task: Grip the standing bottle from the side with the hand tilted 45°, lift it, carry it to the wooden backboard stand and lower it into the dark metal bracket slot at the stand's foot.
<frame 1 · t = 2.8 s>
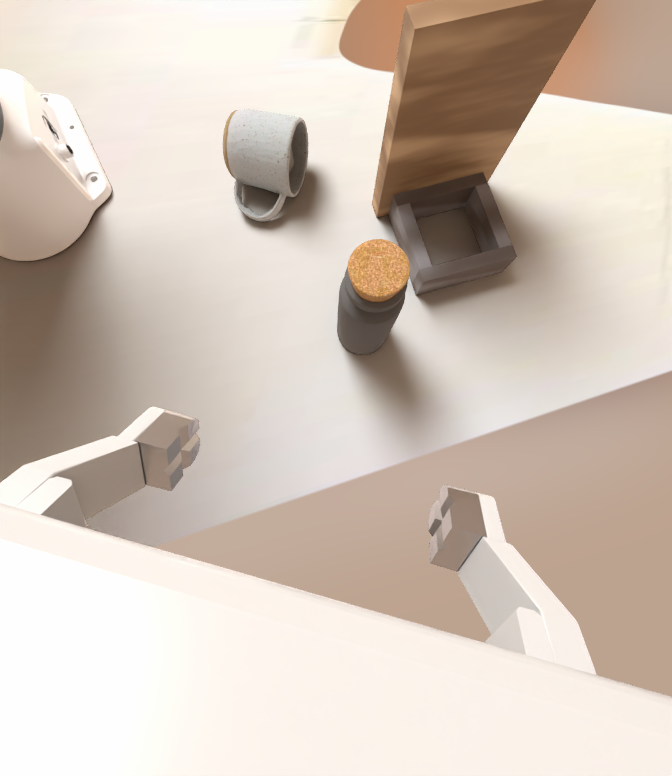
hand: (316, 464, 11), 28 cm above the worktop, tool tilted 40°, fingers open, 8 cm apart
wooden backboard stand: (444, 242, 43), on the worktop
bottle: (361, 331, 41), on the worktop
ceramic mug: (271, 187, 44), on the worktop
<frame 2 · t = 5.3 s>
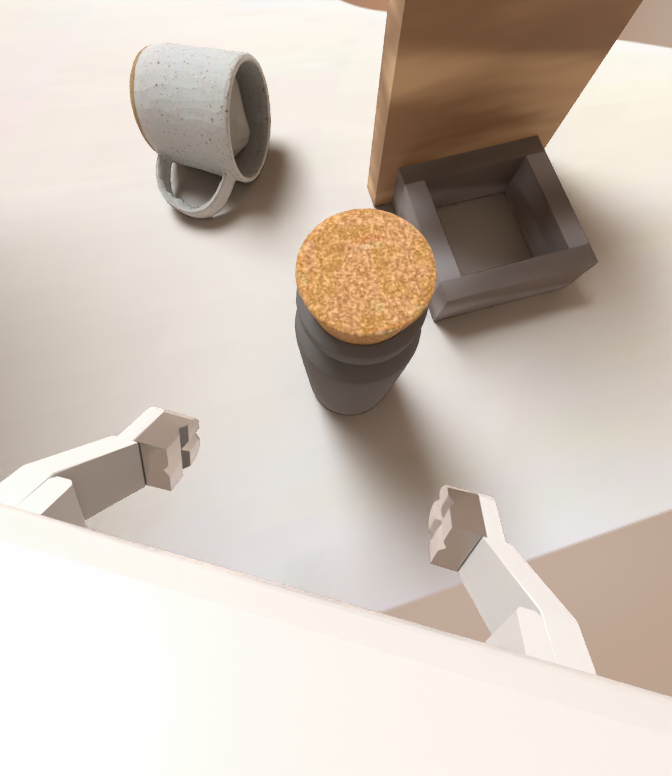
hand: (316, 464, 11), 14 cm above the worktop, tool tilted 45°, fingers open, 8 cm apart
wooden backboard stand: (476, 243, 29), on the worktop
bottle: (349, 377, 26), on the worktop
ceramic mug: (218, 171, 30), on the worktop
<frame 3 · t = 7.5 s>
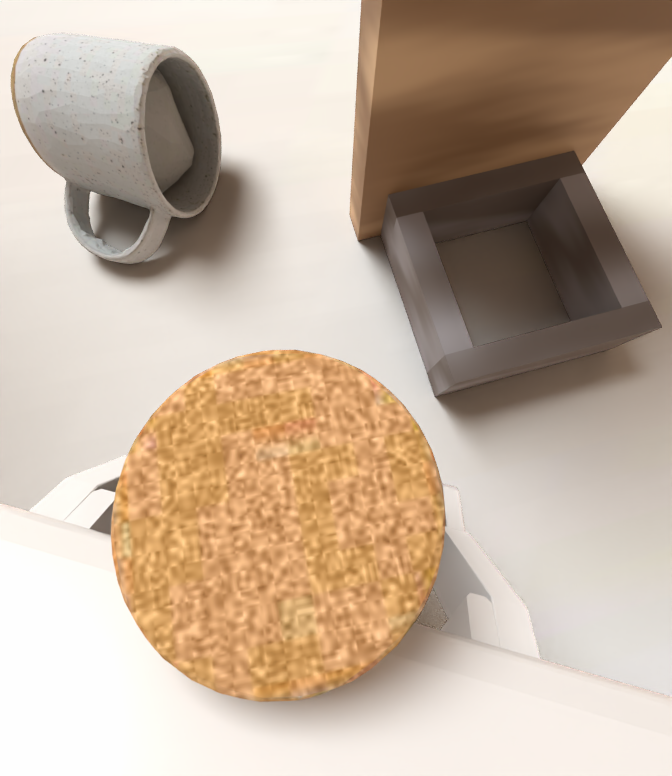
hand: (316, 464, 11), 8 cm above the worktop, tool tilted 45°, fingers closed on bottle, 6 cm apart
wooden backboard stand: (490, 290, 22), on the worktop
bottle: (321, 474, 20), on the worktop, touching gripper
ceramic mug: (156, 200, 24), on the worktop
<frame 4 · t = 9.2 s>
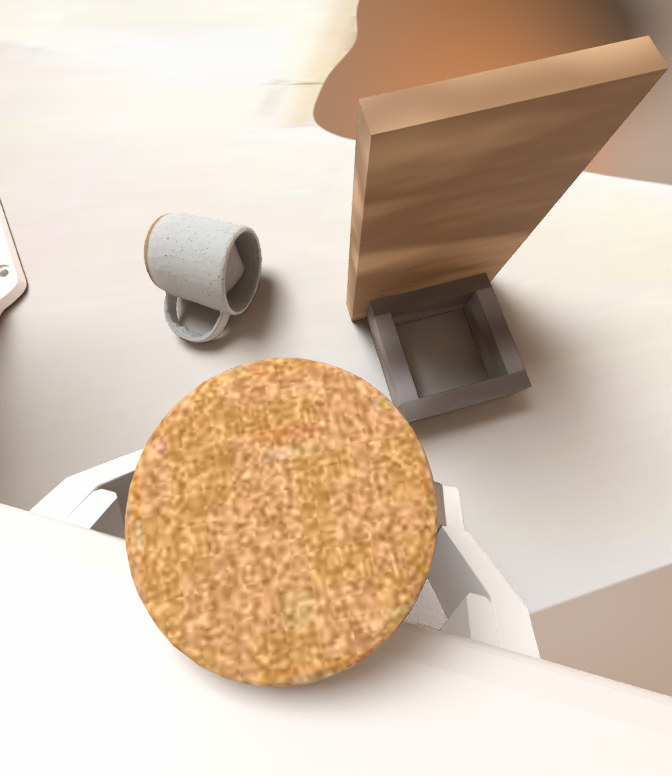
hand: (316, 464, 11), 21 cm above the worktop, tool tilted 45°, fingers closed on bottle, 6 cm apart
wooden backboard stand: (437, 355, 34), on the worktop
bottle: (322, 474, 20), point 12 cm above the worktop, touching gripper
ceramic mug: (217, 296, 36), on the worktop
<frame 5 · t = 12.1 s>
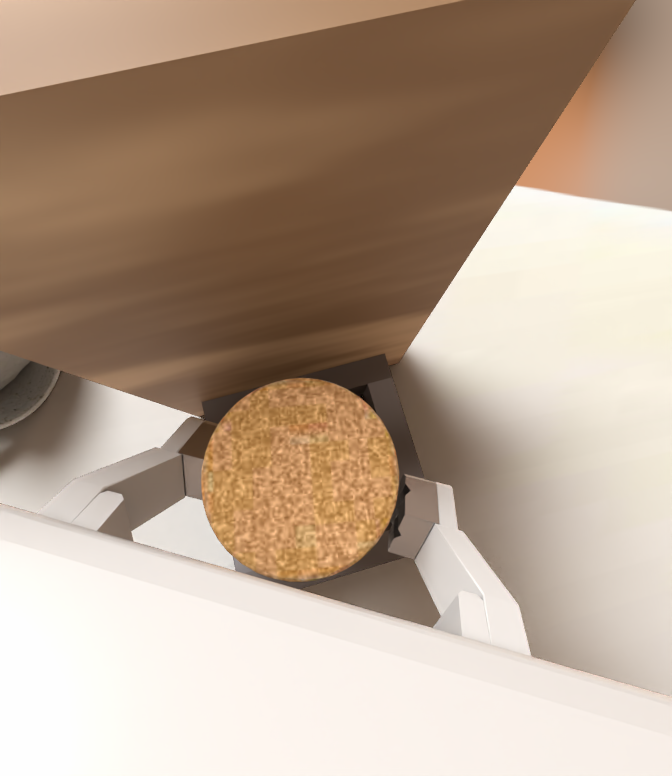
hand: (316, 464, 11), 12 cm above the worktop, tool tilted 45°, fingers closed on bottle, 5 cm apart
wooden backboard stand: (321, 469, 23), on the worktop
bottle: (322, 465, 23), resting in wooden backboard stand, touching gripper
ceramic mug: (1, 387, 24), on the worktop
when the fingers open (10 cm above the worktop, at t = 13.0 s): bottle stays where it is, resting in wooden backboard stand.
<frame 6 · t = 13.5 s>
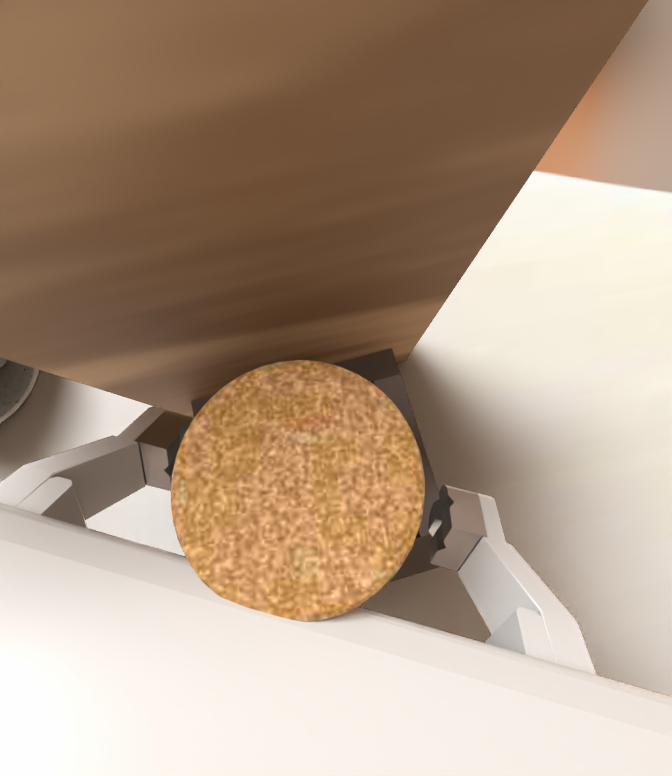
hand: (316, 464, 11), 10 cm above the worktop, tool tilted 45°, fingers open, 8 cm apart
wooden backboard stand: (322, 475, 21), on the worktop
bottle: (324, 469, 21), resting in wooden backboard stand
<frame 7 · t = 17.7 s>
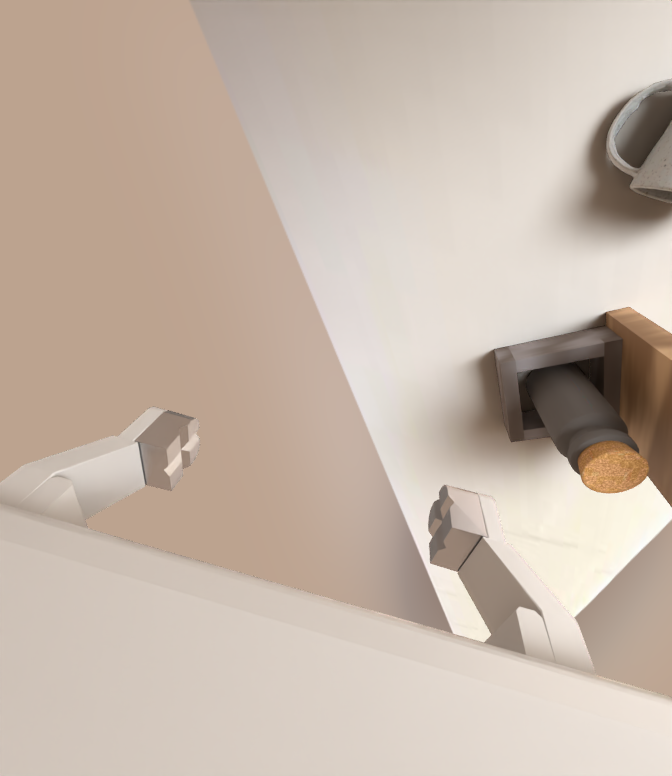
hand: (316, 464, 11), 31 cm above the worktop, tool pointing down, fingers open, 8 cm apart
wooden backboard stand: (550, 380, 41), on the worktop
bottle: (552, 380, 41), resting in wooden backboard stand
ceramic mug: (668, 144, 29), on the worktop
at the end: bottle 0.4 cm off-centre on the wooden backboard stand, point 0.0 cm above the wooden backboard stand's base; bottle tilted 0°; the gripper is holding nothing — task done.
